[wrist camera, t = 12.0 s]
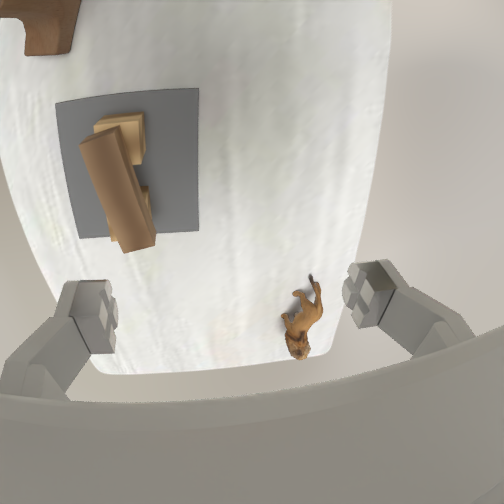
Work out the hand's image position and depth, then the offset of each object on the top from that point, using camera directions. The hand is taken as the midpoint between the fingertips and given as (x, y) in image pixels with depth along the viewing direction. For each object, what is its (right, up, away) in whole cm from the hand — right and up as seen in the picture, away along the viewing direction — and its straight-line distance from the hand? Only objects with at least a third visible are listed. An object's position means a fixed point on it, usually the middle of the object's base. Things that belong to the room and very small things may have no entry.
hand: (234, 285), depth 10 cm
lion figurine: (+9, -9, +49) cm, 51 cm away
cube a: (-15, +16, +24) cm, 32 cm away
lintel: (-14, +9, +23) cm, 28 cm away
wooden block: (-22, +28, +13) cm, 38 cm away
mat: (-15, +12, +27) cm, 33 cm away
